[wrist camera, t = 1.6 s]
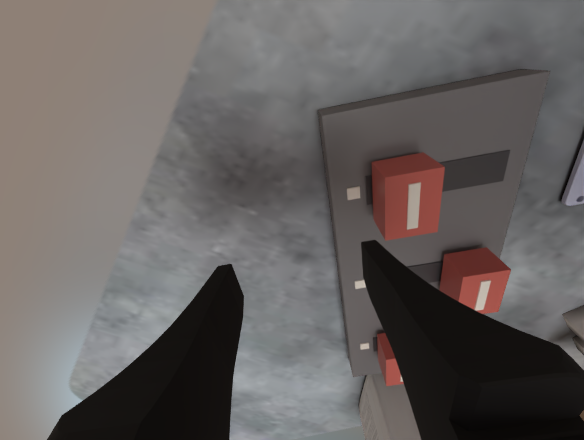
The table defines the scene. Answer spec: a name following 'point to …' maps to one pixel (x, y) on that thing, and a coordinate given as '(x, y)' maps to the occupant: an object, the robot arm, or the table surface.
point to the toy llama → (576, 326)
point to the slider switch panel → (456, 184)
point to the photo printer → (386, 411)
